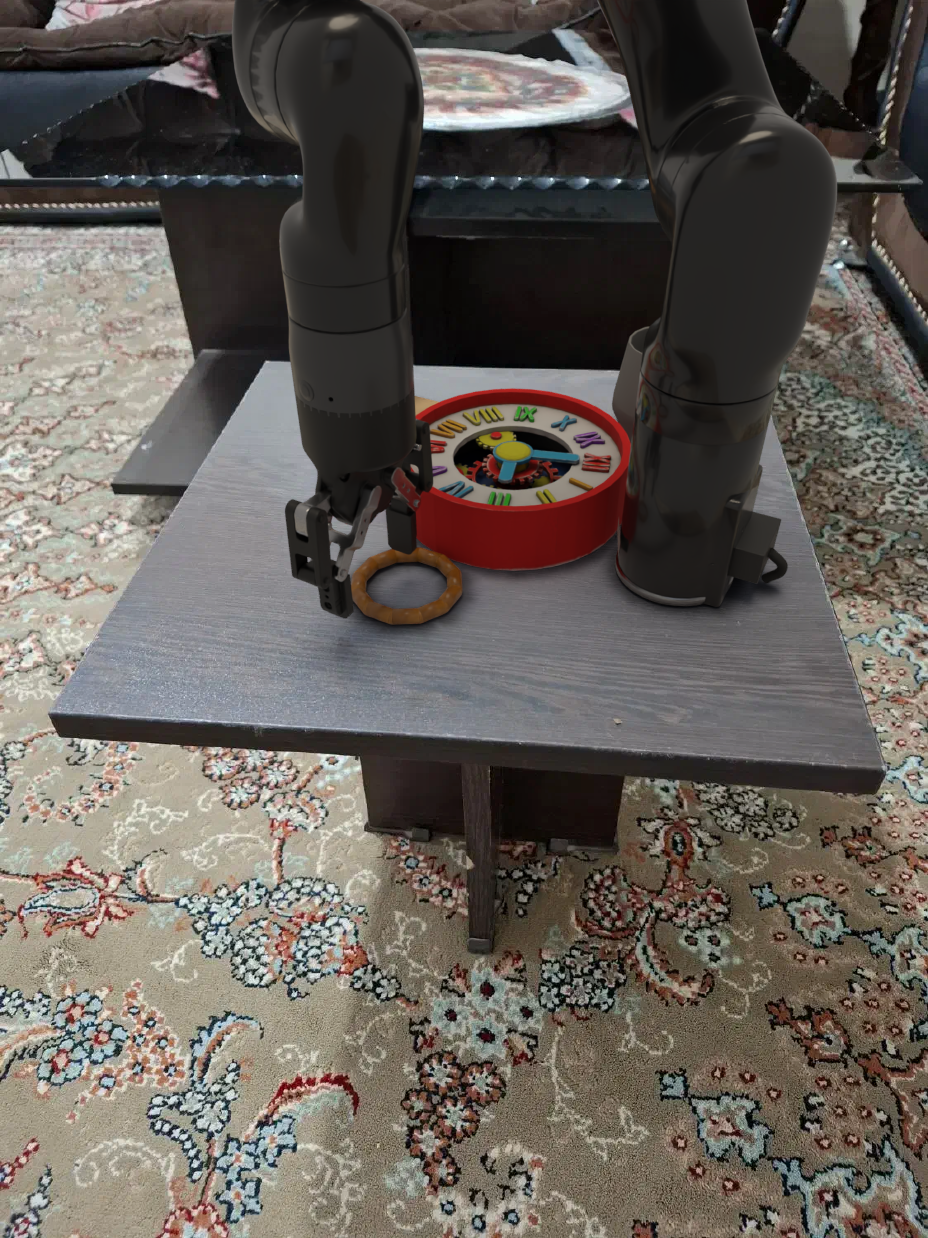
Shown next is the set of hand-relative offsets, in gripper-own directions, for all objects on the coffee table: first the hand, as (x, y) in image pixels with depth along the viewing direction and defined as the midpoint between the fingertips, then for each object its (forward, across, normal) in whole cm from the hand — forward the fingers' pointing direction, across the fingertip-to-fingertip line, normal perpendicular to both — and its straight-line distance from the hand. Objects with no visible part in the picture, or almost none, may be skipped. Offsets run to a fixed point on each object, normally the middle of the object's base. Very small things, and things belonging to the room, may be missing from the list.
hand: (372, 579), depth 67 cm
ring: (+3, +4, -1) cm, 5 cm away
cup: (+3, +35, -10) cm, 36 cm away
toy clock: (+4, +19, -2) cm, 19 cm away
